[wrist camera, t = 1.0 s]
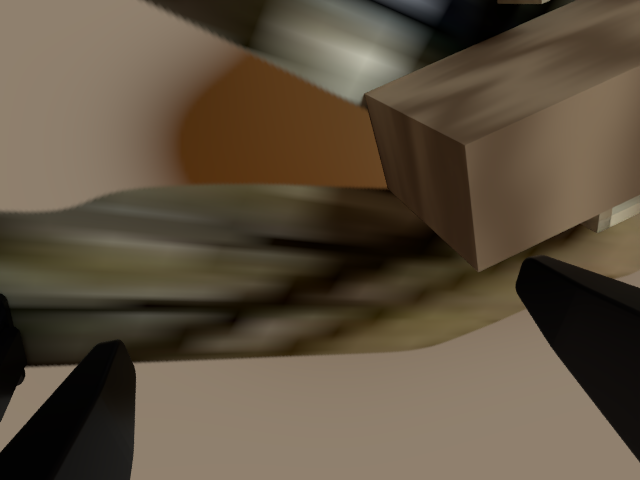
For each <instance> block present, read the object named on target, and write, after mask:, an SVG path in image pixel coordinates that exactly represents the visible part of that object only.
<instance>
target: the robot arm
mask: <svg viewBox="0 0 640 480" xmlns="http://www.w3.org/2000/svg"><path fill="white" fill-rule="evenodd" d="M516 292H517V294H518V296H519V297H520V299H521V301H522V302H523V304H524V305H525V307H526V308H527V310H528V312H529V313H530V315H531V316H532V318H533V319H534V321H535V323H536V324H537V326H538V327H539V329H540V331H541V332H542V334H543V335H544V337H545V338H546V340H547V341H548V343H549V344H550V346H551V347H552V349H553V350H554V351H555V353H556V354H557V356H558V357H559V358H560V360H561V361H562V362H563V363H564V365H565V366H566V367H567V369H568V370H569V371H570V372H571V374H572V375H573V376H574V378H575V379H576V380H577V382H578V383H579V384H580V385H581V387H582V388H583V389H584V391H585V392H586V393H587V394H588V396H589V397H590V398H591V400H592V401H593V402H594V403H595V405H596V406H597V407H598V409H599V410H600V411H601V413H602V414H603V415H604V416H605V418H606V419H607V420H608V422H609V423H610V424H611V426H612V427H613V428H614V429H615V431H616V432H617V433H618V435H619V436H620V437H621V439H622V440H623V441H624V442H625V444H626V445H627V446H628V448H629V449H630V450H631V452H632V453H633V454H634V455H635V457H636V458H637V459H638V460H639V462H640V288H638V287H635V286H632V285H629V284H626V283H624V282H621V281H617V280H615V279H612V278H609V277H606V276H603V275H600V274H597V273H594V272H592V271H589V270H586V269H583V268H580V267H577V266H574V265H571V264H568V263H565V262H562V261H560V260H557V259H554V258H551V257H548V256H545V255H537V256H532V257H528V258H526V259H525V260H524V261H523V263H522V265H521V269H520V272H519V275H518V278H517V281H516ZM26 363H27V360H26V356H25V352H24V347H23V343H22V339H21V335H20V331H19V330H18V329H17V328H16V327H14V326H13V322H12V318H11V314H10V310H9V306H8V302H7V299H6V297H5V296H4V295H2V294H0V422H1V420H2V418H3V416H4V413H5V411H6V409H7V406H8V404H9V402H10V400H11V397H12V395H13V393H14V390H15V388H16V386H17V385H20V384H21V383H22V382H23V380H24V378H25V370H24V368H25V365H26ZM135 393H136V373H135V368H134V365H133V363H132V360H131V358H130V356H129V354H128V352H127V349H126V347H125V345H124V343H123V342H122V341H121V340H118V339H117V340H111V341H106V342H101V343H99V344H97V345H96V346H94V347H93V349H92V350H91V351H90V352H89V353H88V354H87V355H86V356H85V358H84V359H83V360H82V361H81V362H80V363H79V364H78V365H77V367H76V368H75V369H74V370H73V371H72V372H71V373H70V375H69V376H68V377H67V378H66V379H65V380H64V381H63V382H62V384H61V385H60V386H59V387H58V388H57V389H56V390H55V391H54V393H53V394H52V395H51V396H50V397H49V398H48V399H47V400H46V402H45V403H44V404H43V405H42V406H41V407H40V408H39V409H38V411H37V412H36V413H35V414H34V415H33V416H32V417H31V418H30V420H29V421H28V422H27V423H26V424H25V425H24V426H23V428H22V429H21V430H20V431H19V432H18V433H17V434H16V435H15V437H14V438H13V439H12V440H11V441H10V442H9V443H8V444H7V445H6V447H5V448H4V449H3V450H2V451H1V452H0V480H130V476H131V469H132V461H133V451H134V426H135Z"/></svg>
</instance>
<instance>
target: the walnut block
mask: <svg viewBox="0 0 640 480" xmlns="http://www.w3.org/2000/svg"><path fill="white" fill-rule="evenodd" d="M365 98H366V102H367V106H368V110H369V111H368V113H369V117H370V121H371V125H372V128H373V132H374V136H375V140H376V144H377V148H378V152H379V156H380V160H381V164H382V168H383V172H384V176H385V180H386V184H387V188H388V189H389V190H390V191H391V192H392V193H393V194H394V195H395V196H396V197H398V198H399V199H400V200H401V201H402V202H403V203H404V204H405V205H406V206H407V207H408V208H409V209H411V210H412V211H413V212H414V213H415V214H416V215H417V216H418V217H419V218H420V219H421V220H422V221H424V222H425V223H426V224H427V225H428V226H429V227H430V228H431V229H432V230H433V231H434V232H435V233H437V234H438V235H439V236H440V237H441V238H442V239H443V240H444V241H445V242H446V243H447V244H448V245H450V246H451V247H452V248H453V249H454V250H455V251H456V252H457V253H458V254H459V255H460V256H461V257H463V258H464V259H465V260H466V261H467V262H468V263H469V264H470V265H471V266H472V267H473V268H474V269H476V270H477V271H478V272H480V271H482V270H484V269H486V268H488V267H490V266H492V265H494V264H496V263H499V262H501V261H503V260H505V259H507V258H509V257H511V256H513V255H515V254H517V253H519V252H521V251H524V250H526V249H528V248H530V247H532V246H534V245H536V244H538V243H540V242H542V241H544V240H547V239H549V238H551V237H553V236H555V235H557V234H559V233H561V232H563V231H565V230H567V229H569V228H572V227H574V226H576V225H578V224H580V223H582V222H584V221H586V220H588V219H590V218H592V217H595V216H597V215H599V214H601V213H603V212H605V211H607V210H609V209H611V208H613V207H615V206H617V205H620V204H622V203H624V202H626V201H628V200H630V199H632V198H634V197H636V196H638V195H640V0H576V1H574V2H571V3H569V4H567V5H565V6H562V7H560V8H558V9H556V10H553V11H551V12H549V13H546V14H544V15H542V16H540V17H537V18H535V19H533V20H531V21H528V22H526V23H524V24H521V25H519V26H517V27H515V28H512V29H510V30H508V31H506V32H503V33H501V34H499V35H496V36H494V37H492V38H490V39H487V40H485V41H483V42H481V43H478V44H476V45H474V46H471V47H469V48H467V49H465V50H462V51H460V52H458V53H456V54H453V55H451V56H449V57H446V58H444V59H442V60H440V61H437V62H435V63H433V64H431V65H428V66H426V67H424V68H421V69H419V70H417V71H415V72H412V73H410V74H408V75H406V76H403V77H401V78H399V79H396V80H394V81H392V82H390V83H387V84H385V85H383V86H381V87H378V88H376V89H374V90H371V91H369V92H367V93H365Z"/></svg>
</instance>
